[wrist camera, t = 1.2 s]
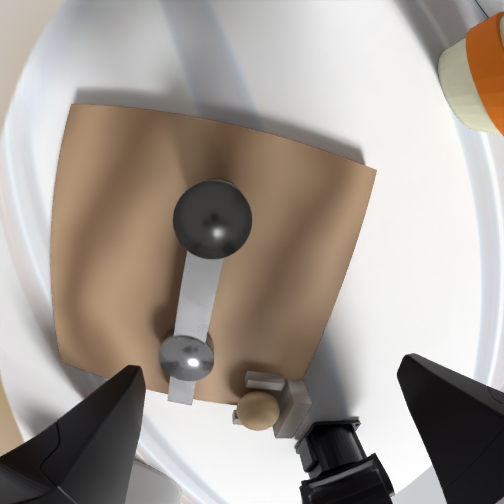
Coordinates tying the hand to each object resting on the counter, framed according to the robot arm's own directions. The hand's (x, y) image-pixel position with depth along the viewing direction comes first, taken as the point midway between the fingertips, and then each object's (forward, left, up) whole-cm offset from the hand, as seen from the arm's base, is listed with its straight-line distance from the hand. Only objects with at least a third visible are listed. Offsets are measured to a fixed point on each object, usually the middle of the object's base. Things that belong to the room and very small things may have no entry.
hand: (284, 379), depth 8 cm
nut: (-3, +12, -11) cm, 17 cm away
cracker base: (+4, +3, -13) cm, 14 cm away
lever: (+3, +4, -11) cm, 12 cm away
